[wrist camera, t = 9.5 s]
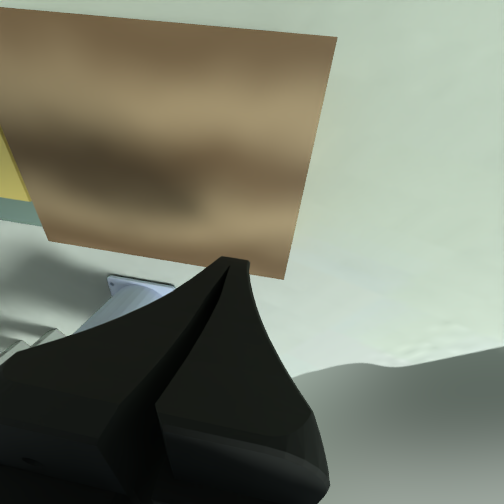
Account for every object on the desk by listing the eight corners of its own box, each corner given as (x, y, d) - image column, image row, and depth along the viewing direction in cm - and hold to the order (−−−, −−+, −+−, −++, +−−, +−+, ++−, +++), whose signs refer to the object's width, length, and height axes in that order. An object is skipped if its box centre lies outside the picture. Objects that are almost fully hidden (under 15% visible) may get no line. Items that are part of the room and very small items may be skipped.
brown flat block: (283, 254, 20) (283, 279, 17) (86, 223, 22) (48, 241, 18) (323, 61, 13) (337, 36, 10) (28, 33, 15) (-51, 2, 11)
